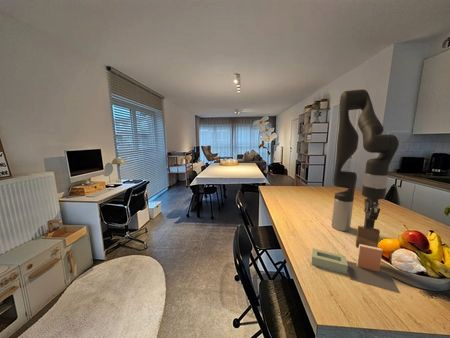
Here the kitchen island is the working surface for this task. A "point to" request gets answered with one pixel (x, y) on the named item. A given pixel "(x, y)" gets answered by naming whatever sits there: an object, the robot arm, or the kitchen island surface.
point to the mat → (372, 277)
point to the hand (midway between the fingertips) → (368, 225)
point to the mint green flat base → (329, 261)
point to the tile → (369, 257)
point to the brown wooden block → (367, 235)
